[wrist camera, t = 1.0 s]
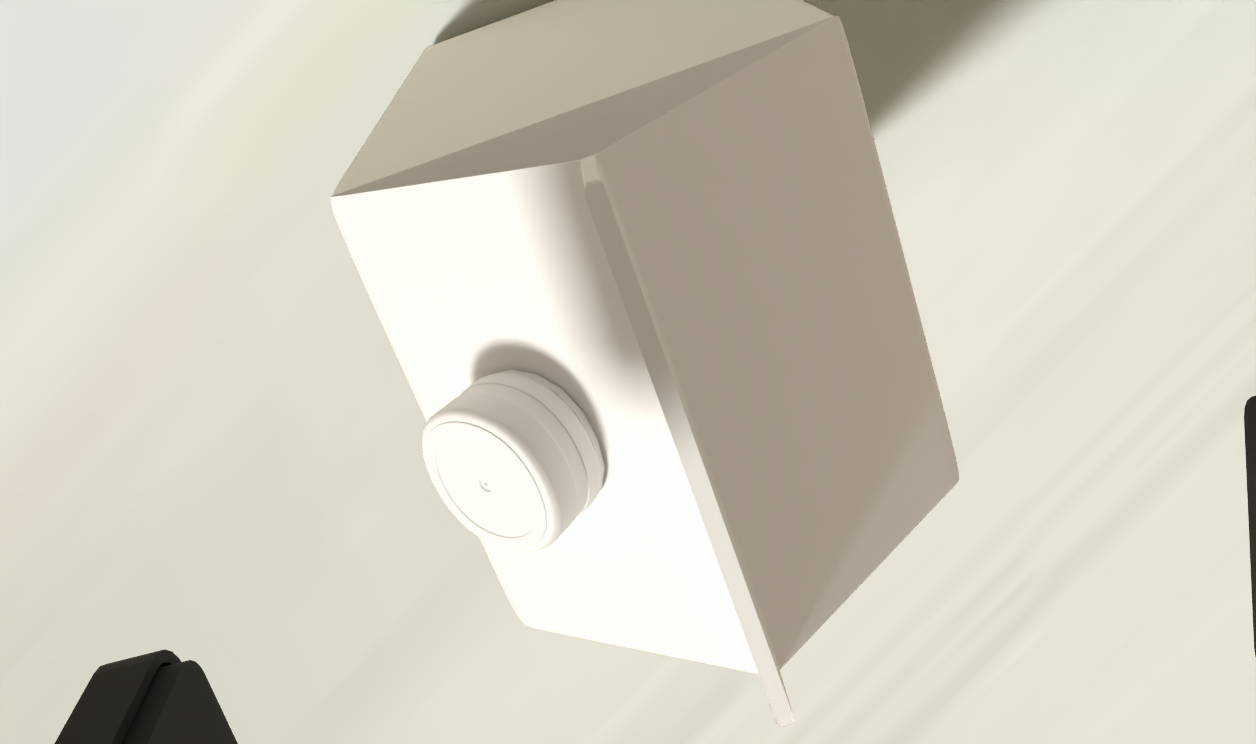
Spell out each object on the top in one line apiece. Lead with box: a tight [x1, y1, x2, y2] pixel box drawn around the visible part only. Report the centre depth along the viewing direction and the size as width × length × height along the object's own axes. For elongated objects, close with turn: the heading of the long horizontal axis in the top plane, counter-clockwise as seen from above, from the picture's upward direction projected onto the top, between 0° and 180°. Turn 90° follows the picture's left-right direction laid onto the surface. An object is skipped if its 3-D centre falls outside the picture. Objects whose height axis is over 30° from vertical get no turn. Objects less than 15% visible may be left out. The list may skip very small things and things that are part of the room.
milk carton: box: [331, 0, 959, 727], centre depth 22 cm, size 7×7×19 cm
